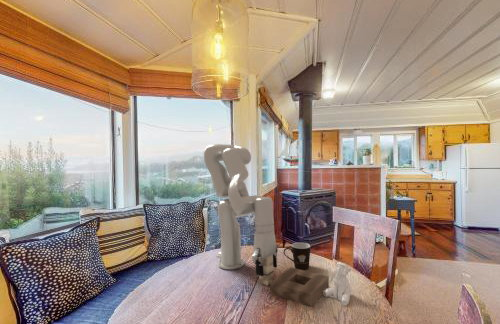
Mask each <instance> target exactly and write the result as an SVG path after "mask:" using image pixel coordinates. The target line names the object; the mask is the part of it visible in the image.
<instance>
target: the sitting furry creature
mask: <svg viewBox="0 0 500 324" xmlns="http://www.w3.org/2000/svg"><path fill="white" fill-rule="evenodd" d="M334 269H335V271H334V272H335V276H334V277H333V280H332V282H333V284H334V285H333V286H332V287H329V288H327V289H326V290H324V291H323V295H322V296H324V297H325V298H328V297H330V298H332V299H337V300H338V301H339V302H341V304H342V306H343V307H347V306H348V305H349V303H350V299H351V295H352V289H351V285H350V283H349V279H348V278H347V276H348V274H349V273H350V272H352V271H351V270H352V268H351V267H349V266H348V265H347V264H346V263H343V262H338V261H337V263H336V264H335V267H334Z"/></svg>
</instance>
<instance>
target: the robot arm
mask: <svg viewBox="0 0 500 324" xmlns="http://www.w3.org/2000/svg"><path fill="white" fill-rule="evenodd" d="M203 160H204V163H205V167H206V168H207V170H208V172H209V174H210V177H211V178H210V179H211V180H212V184H213V187H214V188H213V189H214V191H215V194H216V196H217V197H219V198H224V199H223V200H221V201H219V203H218V205H217V213H218V219H219V226H220V229H219V230H220V251H219V252H218V254H216V258H217V259H219V261H218V264H217V265H218V267H219V268H220V269H223V270H226V271H227V270H228V271H229V270H237V269H240V268H242V267H244V266H245V264H246V263H245V260H244V259H243V258H242V243H241V241H242V239H241V237H242V236H241V227H240V226H241V225H240V224H239V222H238V221H237V219H236V218H241V217H246V216H249V215H252V214H254V221H255V222H254V224H255V226H254V227H255V233H254V237H253V254H252V255H251V259H252V262H253V263H254V265H255V274H256V275H257V276H258V275H259V276H264V271H263V265H262V264H263V260H264V259H266V258H268V257H270V256H271V255H273V268H278V267H277V266H278V265H277V264H278V261H277V257H278V255H277V254H278V249H279V248H278V247H279V244H278V243H276V242H277V240H276V234H275V221H274V220H275V218H274V202H273V199H272V197H270V196H262V195H257V194H256V195H254V194H253V195H250V194H249V192H248V188H247V185H246V183H245V180H246V179H248V177H249V171H248V169H247V166H246V165H248V164H250V162H251V160H252V155H251V152H250V151H249V149H248V148H246V147H243V146H239V145H236V144H235V145H234V144H221V143H220V144H219V143H218V144H215V143H214V144H213V143H212V144H209V145H207V146H206V147H205V149H204V151H203ZM221 161H222V162H223V163H224V165H223V164H222V163H221ZM225 198H226V199H225ZM260 256H262V257H260ZM259 259H261V260H260V262H259ZM259 276H258V277H259Z"/></svg>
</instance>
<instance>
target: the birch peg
mask: <svg viewBox="0 0 500 324" xmlns="http://www.w3.org/2000/svg"><path fill="white" fill-rule="evenodd" d="M260 257H262V256H260ZM260 260H261V259H259V262H260ZM262 265H263V271H264V276H259V275H257V276H258V277H259V284H261V285H264V286H269V285H271V282H272V281H273V280H274V279H273V276H274V272H275V271H274V267H273V255H271V256H270V257H268V258H266V259H264V260H263V264H262Z"/></svg>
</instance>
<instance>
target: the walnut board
mask: <svg viewBox="0 0 500 324" xmlns="http://www.w3.org/2000/svg"><path fill="white" fill-rule="evenodd" d="M329 278H330V277H329V276H327V275H324V274H321V273H320V274H319V273H316V272H311V271H308V270H300V269H296V268H295V267H291V266H290V267H289V268H288V269H287V270H285V271H283V273H281V274H279V276H277V277H276V278H274V279H273V281H272V282H271V284H270V294H272V295H276V296H278V297H281V298H285V299H286V300H290V301H293V302H295V303H299V304H302V305H305V306H307V307H310V308H312V307H313V306H314V305H316V303H317V302H318V300H319V299H320V298H321V297H323V296H324V295H323V291H324V290H326V289H327V288H330V286H329V283H330V282H329V281H330V280H329Z"/></svg>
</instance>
